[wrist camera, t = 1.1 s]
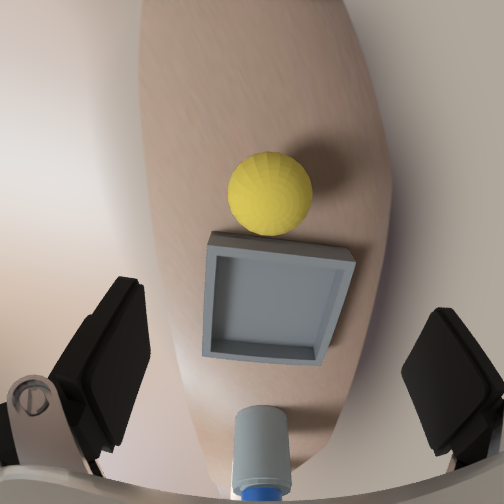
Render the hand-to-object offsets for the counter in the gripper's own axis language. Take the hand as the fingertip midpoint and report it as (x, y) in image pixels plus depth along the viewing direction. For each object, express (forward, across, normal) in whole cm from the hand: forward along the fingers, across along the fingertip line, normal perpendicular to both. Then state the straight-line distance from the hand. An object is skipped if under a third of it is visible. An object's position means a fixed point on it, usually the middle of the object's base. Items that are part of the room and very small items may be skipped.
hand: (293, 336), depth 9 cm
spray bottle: (+23, -5, +40) cm, 46 cm away
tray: (+23, -2, +14) cm, 27 cm away
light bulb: (+23, 0, 0) cm, 23 cm away
